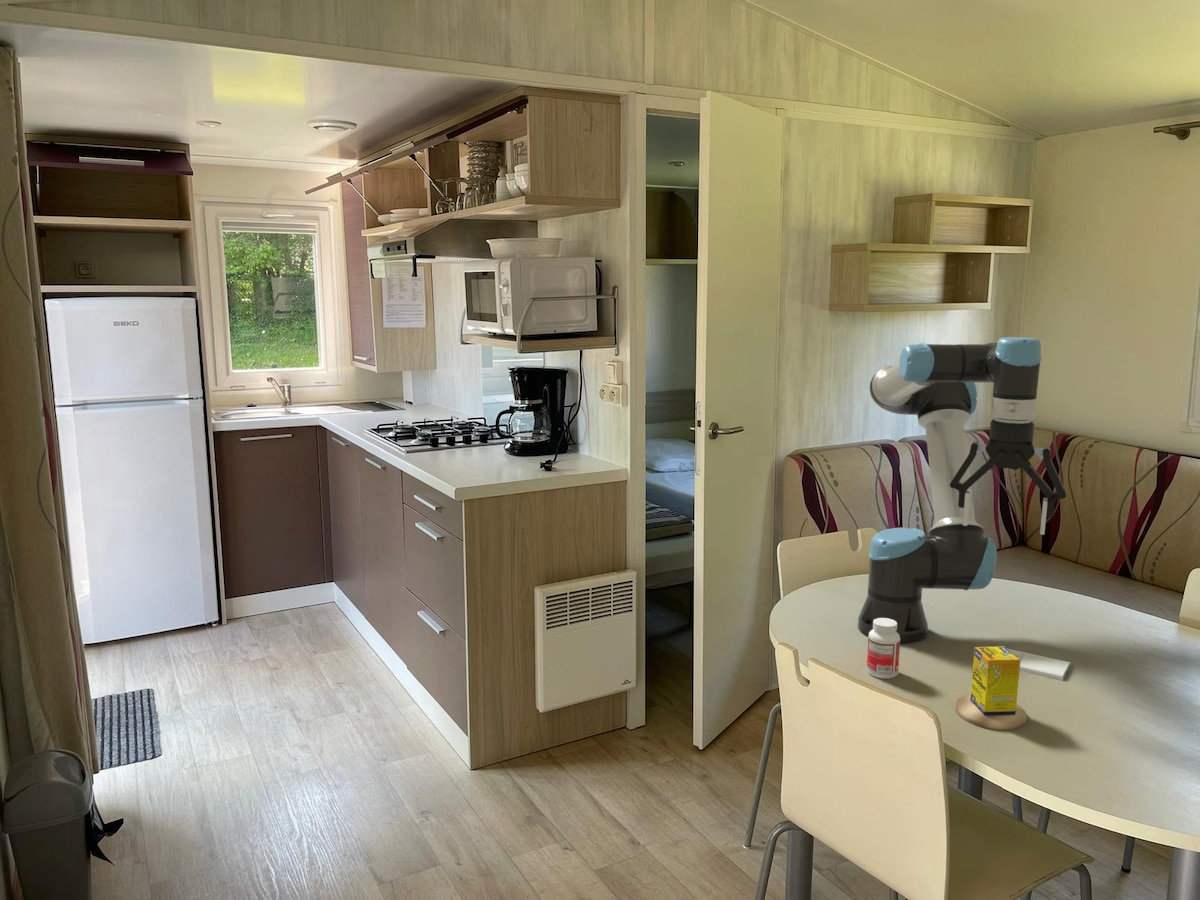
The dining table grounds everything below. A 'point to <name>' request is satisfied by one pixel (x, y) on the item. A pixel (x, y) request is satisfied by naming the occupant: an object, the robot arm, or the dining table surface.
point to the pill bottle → (883, 649)
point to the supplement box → (995, 680)
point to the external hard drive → (1042, 665)
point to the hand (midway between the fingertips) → (1003, 528)
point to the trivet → (992, 722)
